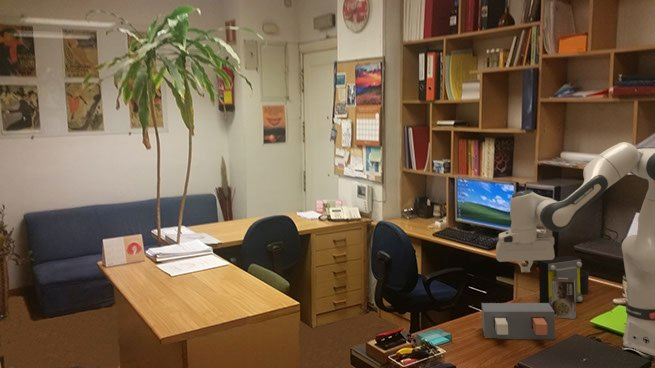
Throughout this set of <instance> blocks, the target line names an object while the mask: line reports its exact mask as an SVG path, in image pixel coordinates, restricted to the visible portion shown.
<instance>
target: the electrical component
mask: <svg viewBox="0 0 655 368" xmlns="http://www.w3.org/2000/svg"><path fill="white" fill-rule="evenodd" d="M582 265H583V263H582V259H581V258H580V257H576V256H572V255H563V256H557V257H556V256H555V257H554V259H553V260H537V267H536V270H537V272H538V273H539V274H538V279H539V280H538V281H539V303H549V304H550V306H551V307H552V286H551V281H552V278H553V277H562V278H575V301H576V303H580V302H582V301H583V299H584V298H583V295H582V294H581V268H582Z"/></svg>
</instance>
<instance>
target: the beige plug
mask: <svg viewBox="0 0 655 368" xmlns="http://www.w3.org/2000/svg"><path fill="white" fill-rule="evenodd" d="M494 326H495V329H496V332H497V335H508V323H507V321H506V318H505V317H494Z"/></svg>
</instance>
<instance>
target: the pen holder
mask: <svg viewBox="0 0 655 368" xmlns="http://www.w3.org/2000/svg"><path fill="white" fill-rule="evenodd" d="M589 275H590V272H589V271H587V270H584V269H582V270H581V294H582V296H584V295H587V294H588V293H589V281H590V279H589V278H590V277H589Z"/></svg>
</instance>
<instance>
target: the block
mask: <svg viewBox="0 0 655 368" xmlns="http://www.w3.org/2000/svg"><path fill="white" fill-rule="evenodd" d="M494 317H505V318H506V321H507V323H508V335H497V332H496V329H495V326H494ZM531 317H543V318H544V320H545V321H546V323H547V333H548V335H536V333H535V331H534V329H533V327H532V321H531ZM555 318H556V317H554V310H553V309H552V307H551V306H550V304H549V303H540V302H500V303H499V302H497V303H496V302H489V303H488V302H486V303H485V302H481V322H482V323H481V324H482V325H481V327H482V328H483V329H482V333H483V332H484V333H483V337H484V336H485V337H487V338H488V337H490V338H498V339H497V340H556V326H555V324H556V323H555V320H556V319H555ZM485 337H484V338H485Z"/></svg>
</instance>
